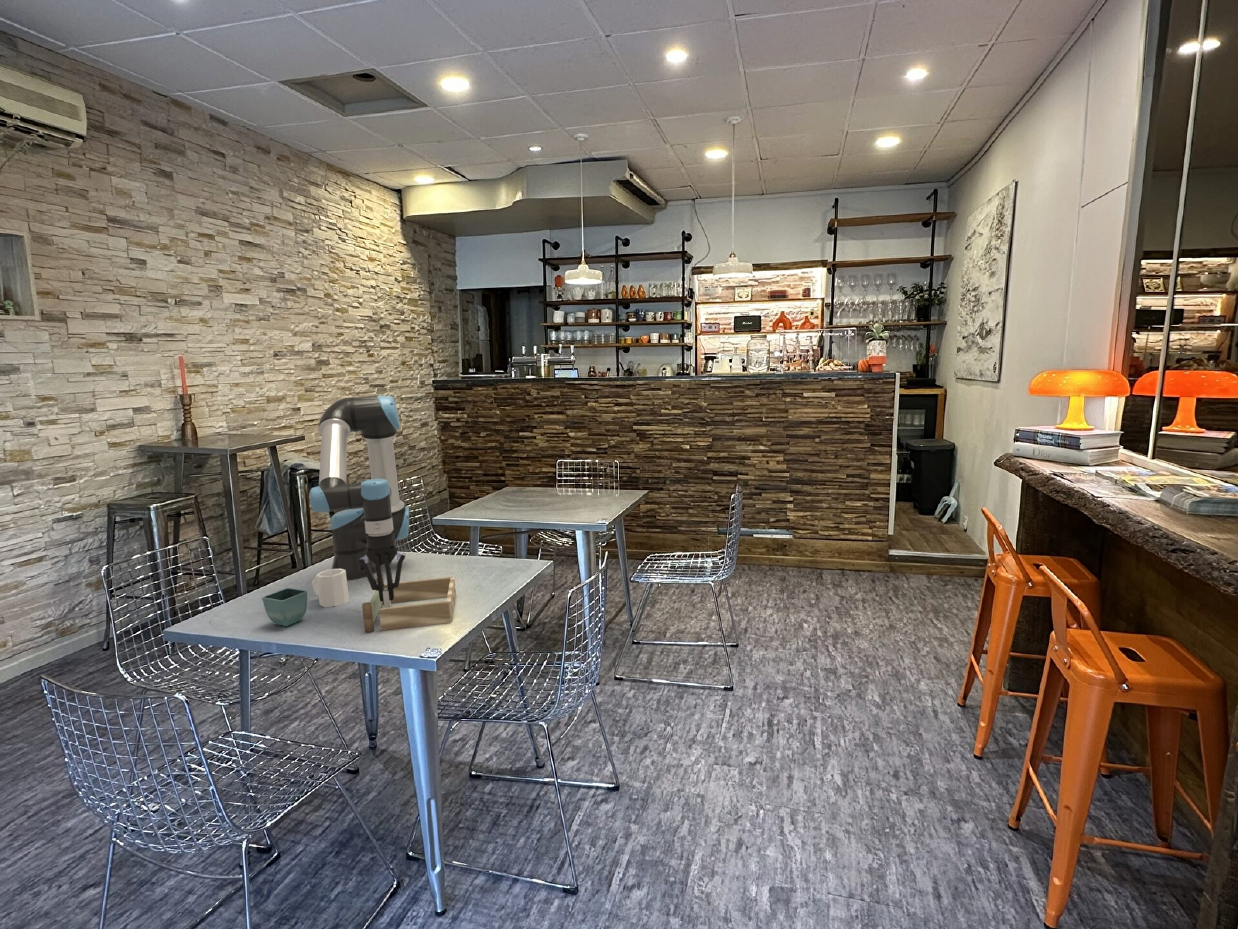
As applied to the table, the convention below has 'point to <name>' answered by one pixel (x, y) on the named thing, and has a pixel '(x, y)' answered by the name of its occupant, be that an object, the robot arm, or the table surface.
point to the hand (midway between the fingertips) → (388, 611)
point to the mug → (331, 587)
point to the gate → (375, 604)
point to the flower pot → (286, 606)
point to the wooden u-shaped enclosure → (415, 613)
